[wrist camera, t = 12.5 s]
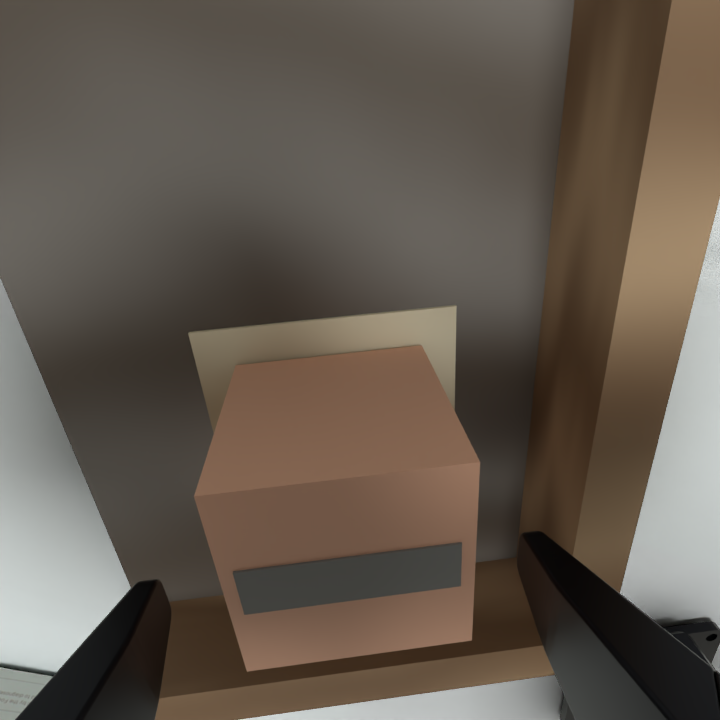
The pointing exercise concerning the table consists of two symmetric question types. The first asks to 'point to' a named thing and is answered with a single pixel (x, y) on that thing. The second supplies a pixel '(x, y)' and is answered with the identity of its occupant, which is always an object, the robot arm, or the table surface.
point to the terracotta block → (341, 508)
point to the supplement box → (18, 691)
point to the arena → (360, 267)
